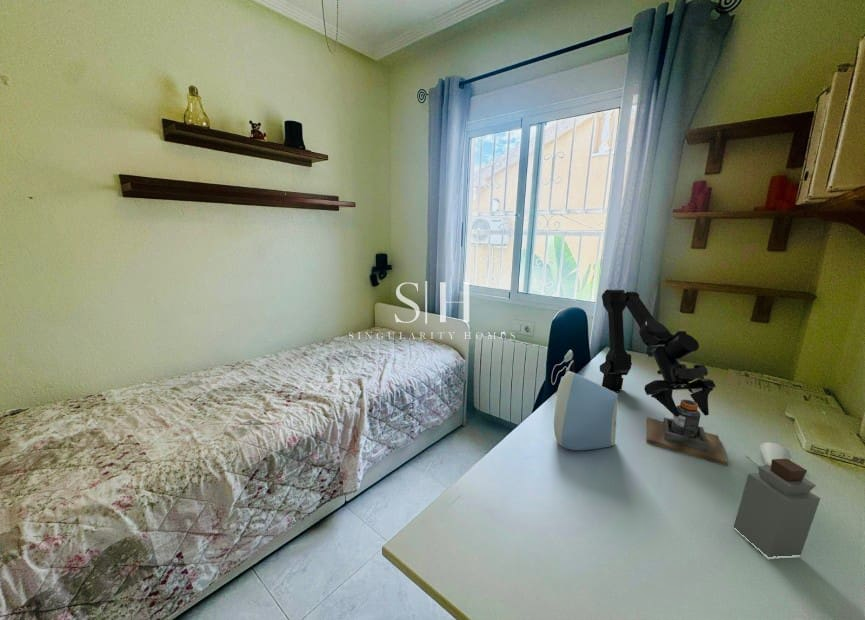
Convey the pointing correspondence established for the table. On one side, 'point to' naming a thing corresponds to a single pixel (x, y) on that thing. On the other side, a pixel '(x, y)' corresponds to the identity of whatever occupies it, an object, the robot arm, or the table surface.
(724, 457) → the socket plate
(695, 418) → the pill bottle
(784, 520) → the perfume bottle
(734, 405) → the table surface
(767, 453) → the woman figurine
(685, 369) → the robot arm
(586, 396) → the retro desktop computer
